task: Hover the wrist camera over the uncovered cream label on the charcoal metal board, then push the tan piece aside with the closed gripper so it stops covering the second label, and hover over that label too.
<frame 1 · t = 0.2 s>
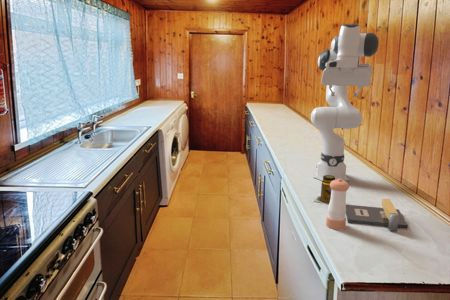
hand: (343, 96, 162), 47 cm above the worktop, fingers open, 8 cm apart
pepper shaker: (335, 226, 146), on the worktop
tan piece: (389, 214, 149), point 4 cm above the worktop, hinge at 0.0°
condiment: (325, 201, 171), on the worktop
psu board: (373, 217, 154), on the worktop
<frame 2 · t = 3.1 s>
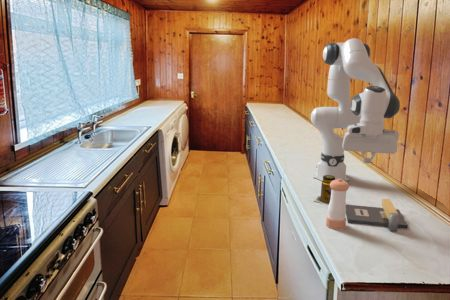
hand: (367, 162, 149), 23 cm above the worktop, fingers closed
nothing on the worktop moved.
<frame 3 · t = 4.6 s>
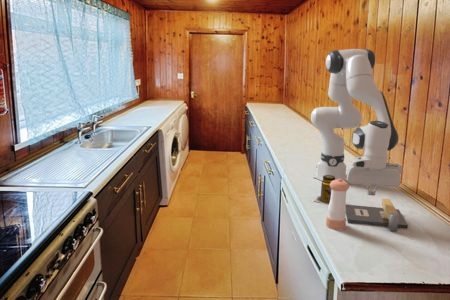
hand: (371, 194, 153), 9 cm above the worktop, fingers closed
nothing on the worktop moved.
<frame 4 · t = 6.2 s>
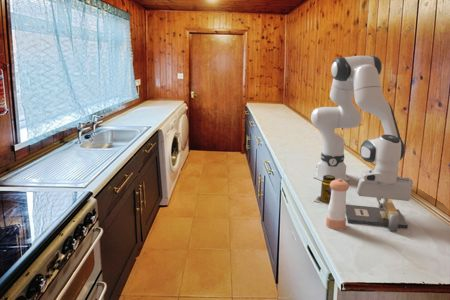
hand: (381, 207, 153), 4 cm above the worktop, fingers closed
tan piece: (390, 214, 149), point 4 cm above the worktop, hinge at -1.6°, touching gripper
everything else where it was.
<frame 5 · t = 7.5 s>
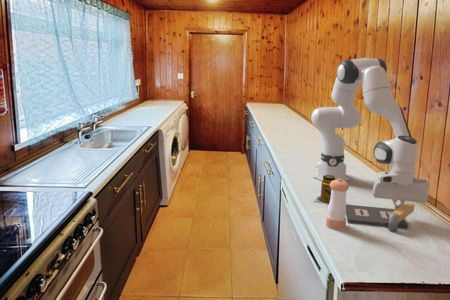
hand: (397, 209, 151), 4 cm above the worktop, fingers closed
tan piece: (401, 216, 147), point 3 cm above the worktop, hinge at -32.3°, touching gripper
everything else where it was.
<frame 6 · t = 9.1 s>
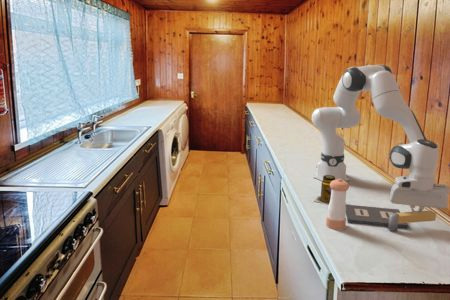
hand: (415, 215, 147), 4 cm above the worktop, fingers closed
tan piece: (411, 220, 143), point 4 cm above the worktop, hinge at -66.0°, touching gripper
everything else where it was.
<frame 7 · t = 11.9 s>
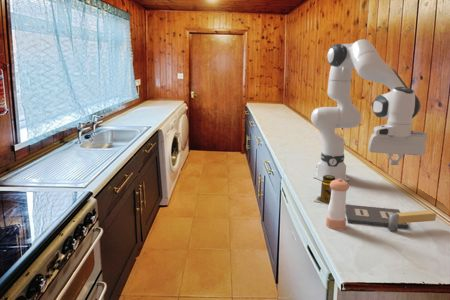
hand: (394, 164, 147), 23 cm above the worktop, fingers closed
tan piece: (411, 220, 143), point 4 cm above the worktop, hinge at -66.0°
everything else where it was.
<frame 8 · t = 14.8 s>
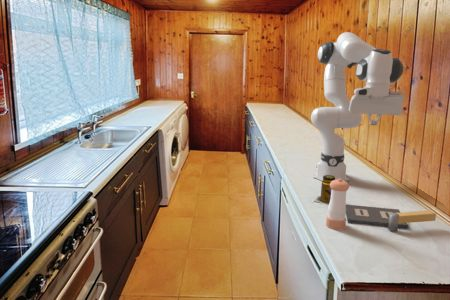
hand: (373, 125, 153), 37 cm above the worktop, fingers closed
nothing on the worktop moved.
at the end: tan piece at -66° (first picture: +0°); pepper shaker moved 0.2 cm from its start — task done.
